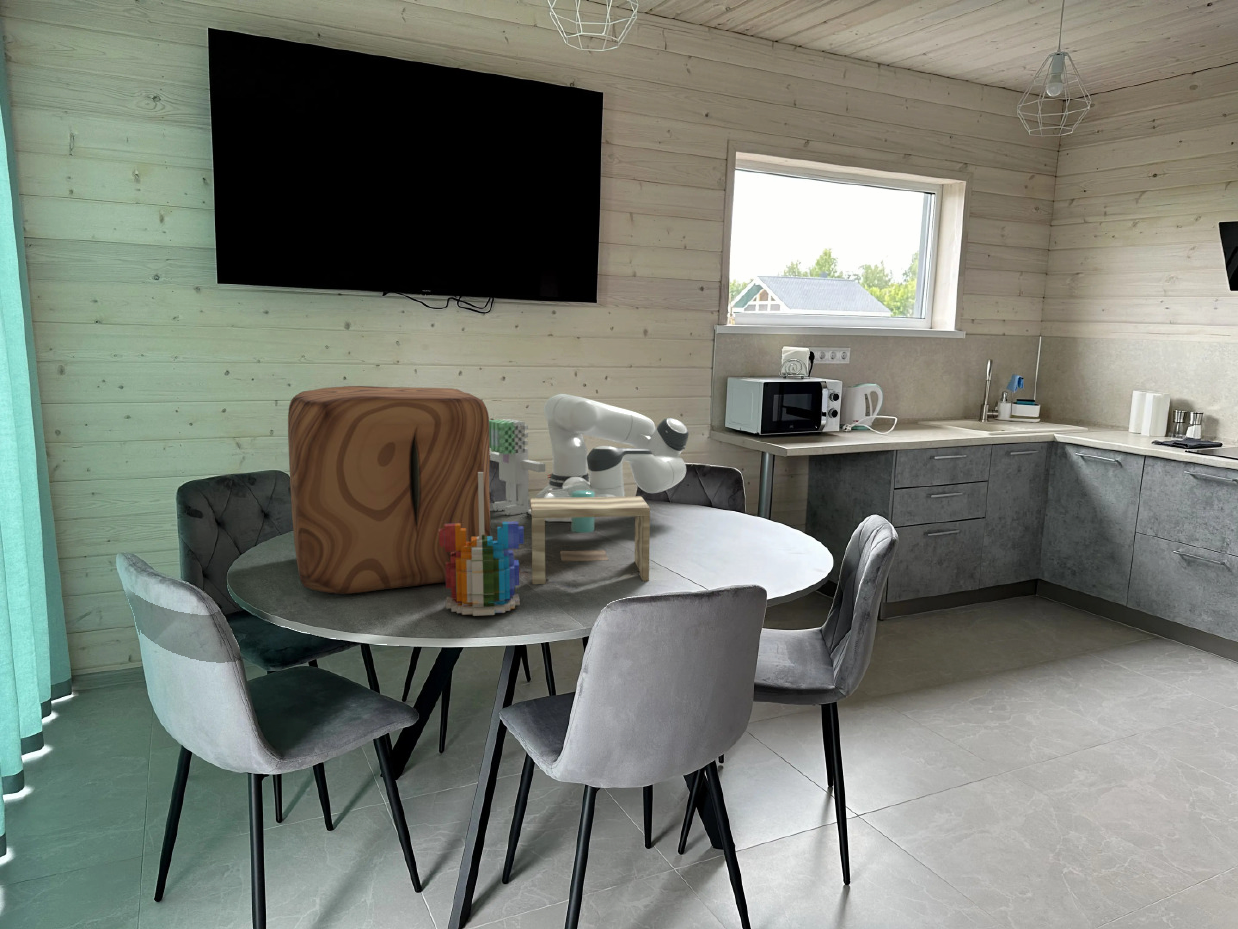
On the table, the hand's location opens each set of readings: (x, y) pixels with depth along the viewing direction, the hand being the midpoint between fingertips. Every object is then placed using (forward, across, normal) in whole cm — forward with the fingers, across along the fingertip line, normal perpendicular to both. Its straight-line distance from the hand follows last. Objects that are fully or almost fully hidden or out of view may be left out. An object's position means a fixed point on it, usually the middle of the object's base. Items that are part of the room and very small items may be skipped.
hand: (583, 510), depth 228 cm
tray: (-1, 0, -13) cm, 13 cm away
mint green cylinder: (-1, 0, -6) cm, 6 cm away
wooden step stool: (+13, 0, -13) cm, 19 cm away
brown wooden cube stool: (+4, +49, -14) cm, 51 cm away
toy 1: (+37, +25, -14) cm, 47 cm away
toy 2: (-62, +20, -14) cm, 66 cm away
